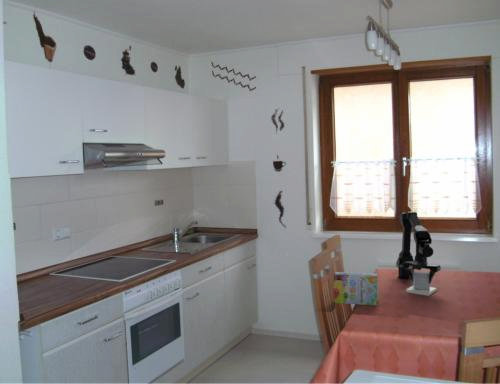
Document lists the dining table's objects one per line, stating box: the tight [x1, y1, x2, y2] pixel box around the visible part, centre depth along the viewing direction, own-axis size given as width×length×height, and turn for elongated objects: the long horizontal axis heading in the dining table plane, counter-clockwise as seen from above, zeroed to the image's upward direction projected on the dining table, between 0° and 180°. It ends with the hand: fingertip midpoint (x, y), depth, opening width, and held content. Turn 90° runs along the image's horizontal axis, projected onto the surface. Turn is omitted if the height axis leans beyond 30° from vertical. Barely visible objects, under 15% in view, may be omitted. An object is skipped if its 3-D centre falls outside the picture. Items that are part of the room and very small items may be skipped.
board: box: [405, 285, 437, 297], centre depth 276 cm, size 12×12×2 cm
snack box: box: [333, 271, 379, 307], centre depth 257 cm, size 21×6×15 cm, turn 71°
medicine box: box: [412, 271, 431, 289], centre depth 275 cm, size 8×4×9 cm, turn 83°
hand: (421, 282), depth 275 cm, fingers open, 9 cm apart
